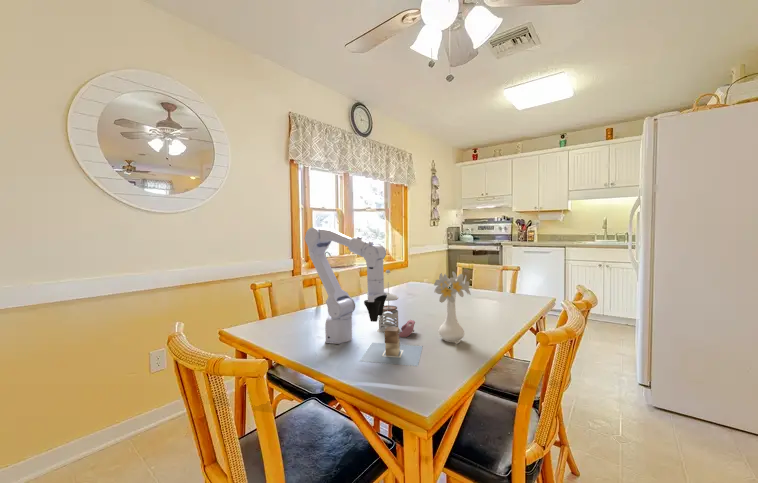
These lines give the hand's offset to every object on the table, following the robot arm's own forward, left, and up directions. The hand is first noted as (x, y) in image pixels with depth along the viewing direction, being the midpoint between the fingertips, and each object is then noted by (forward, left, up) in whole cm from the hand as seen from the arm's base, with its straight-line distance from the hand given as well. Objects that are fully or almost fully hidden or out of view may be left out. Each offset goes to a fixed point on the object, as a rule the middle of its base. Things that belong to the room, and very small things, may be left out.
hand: (376, 318), depth 108 cm
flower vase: (+26, +10, -11) cm, 30 cm away
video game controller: (+9, +15, -11) cm, 20 cm away
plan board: (+7, -6, -10) cm, 14 cm away
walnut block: (+6, -6, -6) cm, 10 cm away
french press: (0, +18, -11) cm, 21 cm away
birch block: (+7, -6, -10) cm, 13 cm away
